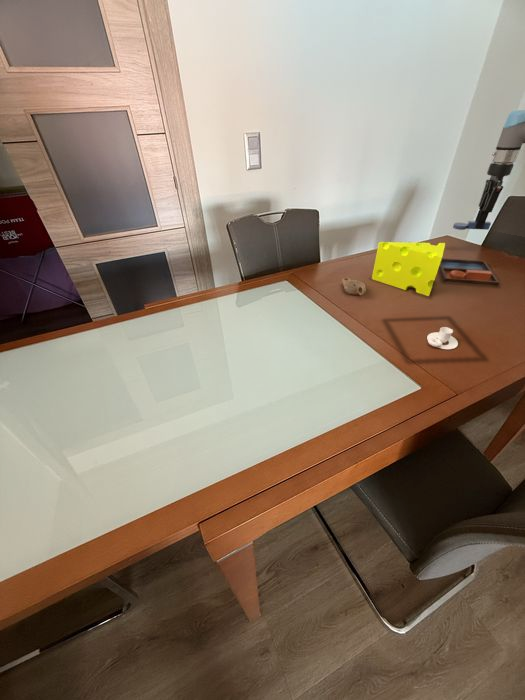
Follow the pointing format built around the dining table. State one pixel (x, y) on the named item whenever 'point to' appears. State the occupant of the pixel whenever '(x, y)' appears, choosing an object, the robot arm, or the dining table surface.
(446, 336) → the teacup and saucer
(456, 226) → the blue spoon
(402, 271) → the cheese wedge
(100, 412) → the dining table surface
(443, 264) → the cutlery tray
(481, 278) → the terracotta spoon
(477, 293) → the dining table surface
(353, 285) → the oil lamp
